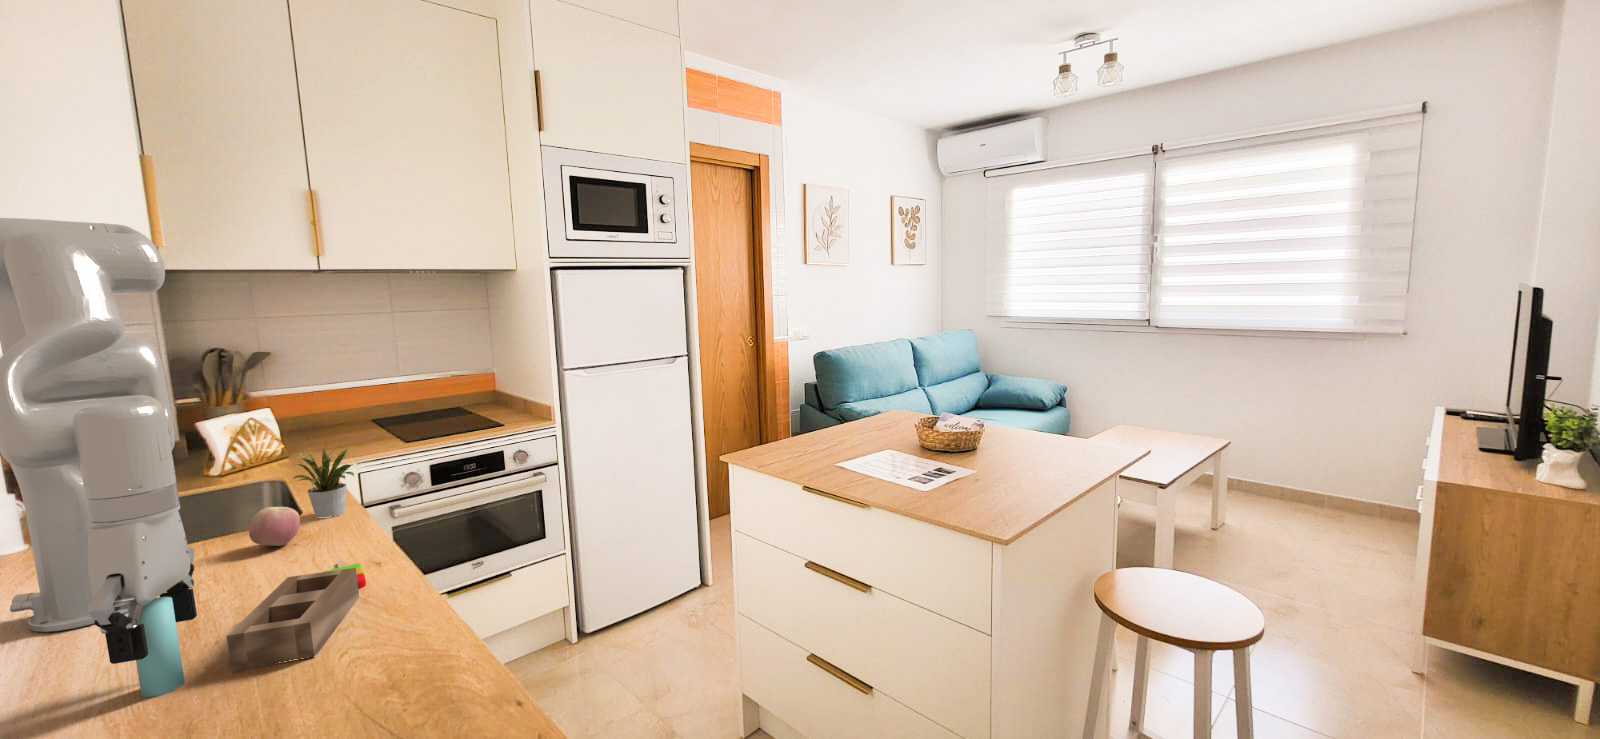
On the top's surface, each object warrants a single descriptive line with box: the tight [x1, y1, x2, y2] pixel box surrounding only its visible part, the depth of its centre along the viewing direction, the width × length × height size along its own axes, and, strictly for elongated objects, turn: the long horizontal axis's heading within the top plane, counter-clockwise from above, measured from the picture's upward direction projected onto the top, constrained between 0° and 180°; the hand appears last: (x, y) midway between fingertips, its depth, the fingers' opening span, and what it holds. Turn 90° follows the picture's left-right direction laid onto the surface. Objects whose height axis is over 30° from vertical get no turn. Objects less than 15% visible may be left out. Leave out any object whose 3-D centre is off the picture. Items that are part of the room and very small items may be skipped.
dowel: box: [127, 596, 185, 698], centre depth 78 cm, size 4×4×11 cm
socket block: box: [226, 568, 360, 673], centre depth 91 cm, size 9×18×5 cm, turn 19°
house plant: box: [276, 443, 356, 517], centre depth 139 cm, size 14×14×16 cm
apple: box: [248, 506, 301, 547], centre depth 123 cm, size 8×8×8 cm
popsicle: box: [323, 559, 367, 590], centre depth 109 cm, size 6×15×2 cm, turn 39°
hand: (156, 639), depth 77 cm, fingers open, 9 cm apart
